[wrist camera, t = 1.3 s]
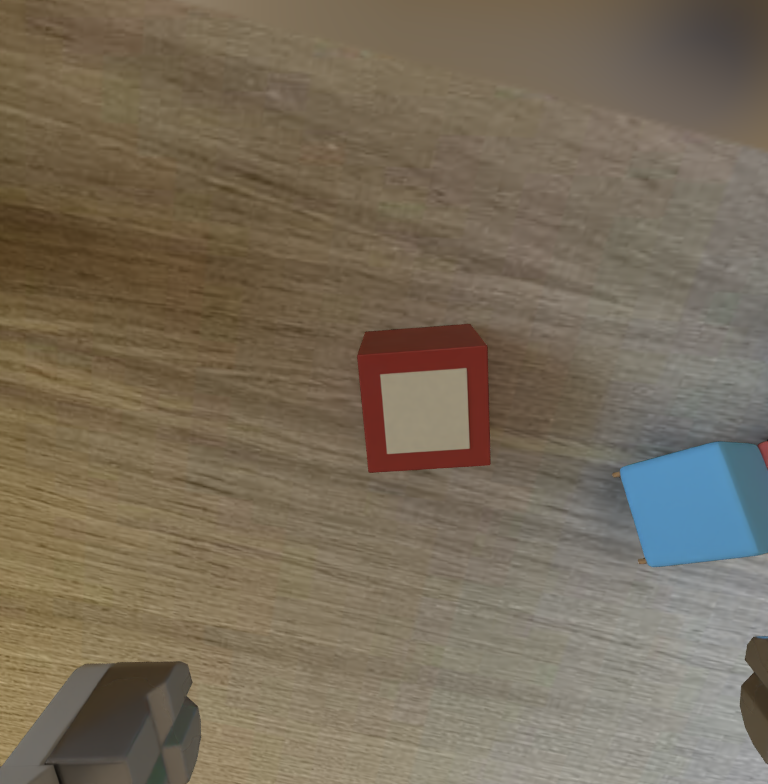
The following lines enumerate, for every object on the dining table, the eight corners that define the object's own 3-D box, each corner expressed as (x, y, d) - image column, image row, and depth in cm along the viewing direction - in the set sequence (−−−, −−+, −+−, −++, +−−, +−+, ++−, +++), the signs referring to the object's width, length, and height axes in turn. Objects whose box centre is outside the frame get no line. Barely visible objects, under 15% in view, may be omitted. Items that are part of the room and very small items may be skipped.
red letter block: (364, 331, 23) (356, 355, 18) (470, 323, 22) (487, 345, 18) (373, 430, 24) (368, 474, 20) (474, 423, 24) (490, 466, 19)
